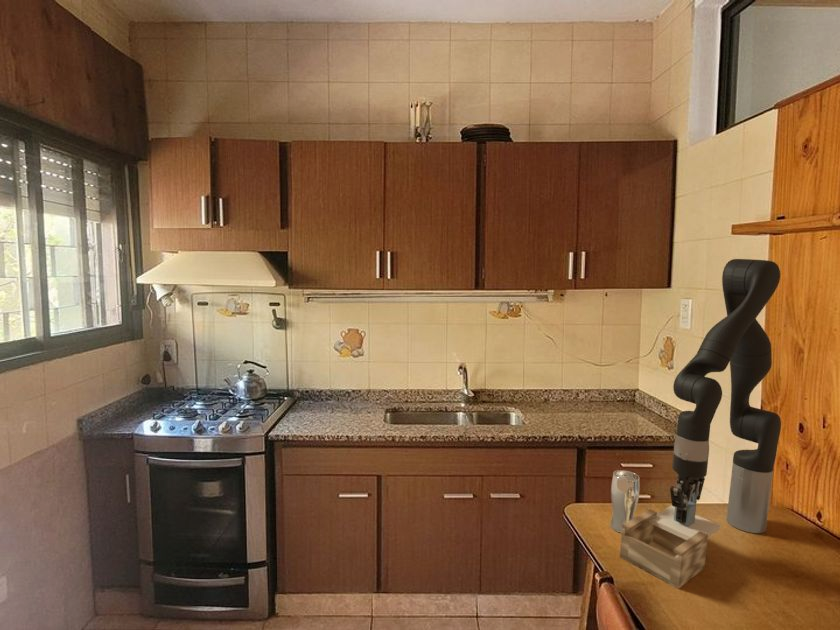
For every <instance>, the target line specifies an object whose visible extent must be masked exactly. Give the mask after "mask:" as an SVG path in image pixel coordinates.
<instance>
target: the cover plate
mask: <svg viewBox="0 0 840 630" xmlns="http://www.w3.org/2000/svg"><path fill="white" fill-rule="evenodd" d="M684 502H685V501H684ZM676 510H677V507H674V506H672V504H671V505H669V506H668V507H666V508H664V509H663V510H660V511H659V512H657V515H656V516H654V517H653V518H651V519H649V523H650V524H652V525H655V526H657V527H659V528H661V529H663V530H666V531H668V532H670V533H672V534H674V535H676V536H679V537H681V538H683V539H685V540H688V539H689V538H691V537H692V536H694V535H695V534H696V533H698V532H699V531H701V532H703V533H705V534H707V535H708V538H710V537H711V536H712V535H713V534H715V533H716V532H718V531H719V530H720V526H721V524H718V523H716V522H714V521H712V520H709V519H706V518H704V517H702V516H700V515H697V514H696V513H697V503H693V502H691V501H689V502H688V507H687V516H686V523H684V524H682V523H680V522H678V521H676Z"/></svg>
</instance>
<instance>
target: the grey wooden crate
mask: <svg viewBox="0 0 840 630" xmlns="http://www.w3.org/2000/svg"><path fill="white" fill-rule="evenodd" d="M657 513H658V512H657V511H654V510H652V509H648V510H646V511H644V512H643V513H641V514H639V515H637V516H636V517H635V516H634V518H633V519H632V520H630V521H628V522H626V523H624V524H623V525H622V533H621V539H620V551H619V558H621V559H622V558H623V560H625V561H626V562H628V563H630V564H632V565H633V566H636V567H638V568H640V569H641V570H644V571H645V572H646V573H648V574H650V575H652V576H655V578H658V579H659V580H661V581H663V582H665V583H667V584H668V585H670V586H673V587H674V588H676V589H680V588H681V587H683V586H684V585H685V584H687V582H688V581H690V580H692V578H695V576H696V575H698V574H699V573H701V571H703V570H704V569H705V565H706V557H707V555H706V554H707V547H708V538H709V537H708V535H707V534H705V533H703V532H701V531H699V532H698V533H696V534H695V535H694V536H692V537H691V538H689V539H688V540H685V539H683V538H681V537H679V536H676V535H674V534H672V533H670V532H668V531H666V530H663V529H661V528H659V527H657V526H655V525H652V524H650V523H649V519H651V518H653V517H654V516H656V515H657Z"/></svg>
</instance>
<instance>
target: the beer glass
mask: <svg viewBox="0 0 840 630" xmlns="http://www.w3.org/2000/svg"><path fill="white" fill-rule="evenodd" d="M640 488H641V487H640V476H639V475H638V474H637V473H634V472H632V471H630V470H624V469H623V470H621V469H616V470H614V471H613V473H612V480H611V487H610V498H611V506H612V516H611V520H610V522H609V527H610V526H611V527H610V528H611V530H613V529H614V530H615V532H616V531H617V533H619V532H620V533H619V534H622V525H623V524H624V523H626V522H628V521H630V520H632V519H633V518H635V513H636V510H637V506H638V502H639V498H640ZM614 530H613V531H614Z"/></svg>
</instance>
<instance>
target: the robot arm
mask: <svg viewBox="0 0 840 630" xmlns="http://www.w3.org/2000/svg"><path fill="white" fill-rule="evenodd" d="M780 280H781V270H780V267H779V265H778V264H777V263H776V262H774V261H772V260H765V259H763V260H762V259H750V258H733V259H730V260H729V261H728V262H727V263H726V264H725V266H724V267H723V271H722V276H721V282H722V293H723V299H724V305H725V311H726V316H725V317H724V318H722V319H721V320H720V321H718V322H717V323H716V324H714V325H713V326H712V327H711V328H710V329H709V330H708V332H707V333H706V335H705V336H704V339H703V341H702V342H701V344H700V346H699V348H698V350H697V352H696V354H695V355H694V357H692V359H690V361H689V362H687V364H686V365H685V366H684V367H683V368H682V369H681V370H680V372H678V374H677V376H676V377H675V379H674V382H673V387H672V388H673V393H674V395H675V397H677V398H678V399H680V400H682V401H685V402H688V403H691V404H695V408H694V410H684V411H681V412H680V413H679V414H678V417H677V425H676V433H675V435H676V436H675V439H674V444H673V445H674V446H673V455H672V470H673V471H674V472H675V473H676V474H677V478H676V482H675V484H676V486H673V485H671V486H670V488H669V491H670V500H671V505H672V506H674V507H677V510H676V521H678V522H680V523H682V524H684V523H686V516H687V507H688V502H689V501H691V502H693V503H696V504H697V503H698V502H697V501H700V499H701V496H702V490H703V487H704V483H705V480H706V479H705V477H706V476H707V474H708V464H709V457H710V456H709V455H710V435H711V433H710V432H711V424H712V421H713V419H714V417H715V414H716V412H717V410H718V407H719V405H720V404H721V401H722V397H723V389H722V386H721V384H720V383H719V382H718V381H717V379H714V378H712V377H708V376H707V375H708V374H710V373H721V372H724V371H725V370H726V369H727V367H728V366H729V370H730V385H731V387H730V409H729V427H730V431H731V434H732V435H733V436H735V437H736V438H739V439H742V440H745V441H748V442H753V443H756V444H757V448H756V449H739V450H735V452H734V453H733V457H732V464H731V465H732V466H731V467H732V468H731V477H730V485H729V493H728V503H727V512H726V522H727V523H728V524H730V525H731V526H732V527H733V528H736V529H738V530H740V531H744V532H747V533H752V534H763V533H765V532H766V530H767V525H768V516H769V508H770V507H769V506H770V501H771V491H772V482H773V476H774V475H773V474H774V467H775V466H774V465H775V463H776V462H775V461H776V459H777V458H776V457H777V451H778V446H779V440H780V435H781V430H782V419H781V417H780V415H779V414H778V413H776V412H773V411H771V410H770V411H769V410H765V409H762V408H757V407H753V406H751V405H750V397H751V394H752V392H753V390H754V389H755V388H756V387H757V386H758V384H760V383H761V382H762V380H764V378H765V377H766V376H767V375H768V374H769V372H770V370H771V368H772V364H773V361H772V360H773V359H772V358H773V357H772V342H771V340H770V337H769V336H768V335H767V332H766V331H765V329H764V328H763V327H762V325H761V324H760V322H759V321H758V320H757V317H758V316H759V315H760V313H761V312H762V311H763V309H764V308H765V306H766V305H767V304H768V302H769V300H771V298H772V297H773V295H774V293H775V292H776V291H777V288H778V286H779V283H780ZM684 501H685V502H684Z"/></svg>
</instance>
